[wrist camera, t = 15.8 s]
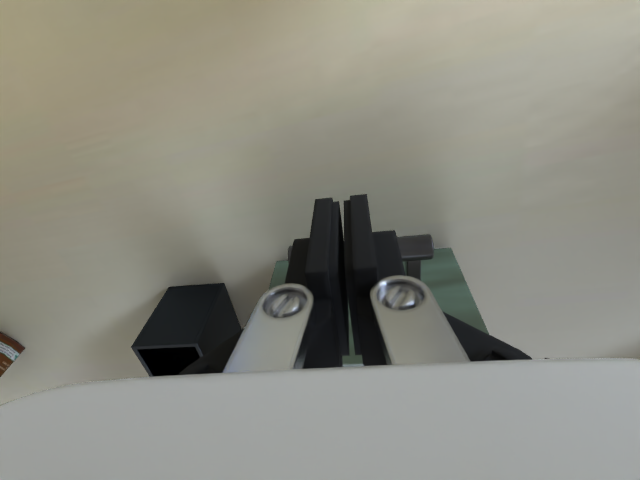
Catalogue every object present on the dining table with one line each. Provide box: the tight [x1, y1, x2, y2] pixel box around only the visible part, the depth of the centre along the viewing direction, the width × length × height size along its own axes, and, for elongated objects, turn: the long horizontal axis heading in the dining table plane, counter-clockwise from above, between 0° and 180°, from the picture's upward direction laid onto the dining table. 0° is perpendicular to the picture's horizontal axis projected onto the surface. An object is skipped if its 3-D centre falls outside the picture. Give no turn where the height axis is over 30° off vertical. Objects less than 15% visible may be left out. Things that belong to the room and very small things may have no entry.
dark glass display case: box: [131, 283, 241, 377], centre depth 30 cm, size 8×5×6 cm, turn 8°
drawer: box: [269, 234, 489, 367], centre depth 26 cm, size 22×13×10 cm, turn 8°
